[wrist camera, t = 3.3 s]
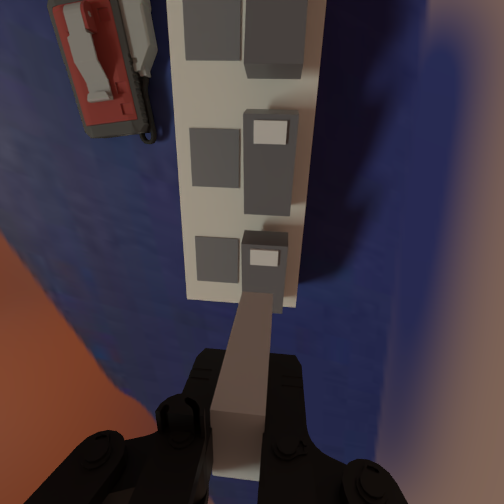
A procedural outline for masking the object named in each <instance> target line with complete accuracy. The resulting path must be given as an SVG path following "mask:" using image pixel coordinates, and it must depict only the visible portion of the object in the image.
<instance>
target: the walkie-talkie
mask: <svg viewBox="0 0 504 504" xmlns="http://www.w3.org/2000/svg"><path fill="white" fill-rule="evenodd" d="M47 8H48V11H49V15H50V18H51V21H52V25H53V28H54V31H55V35H56V38H57V41H58V45H59V48H60V51H61V55H62V58H63V61H64V64H65V66H66V71H67V72H68V77H69V79H70V84H71V85H72V90H73V92H74V97H75V99H76V103H77V105H78V107H77V108H78V109H79V112H80V113H79V114H80V116H81V121H82V122H83V127H84V129H85V133H87V134H88V135H89V136H90V137H91V138H111V137H118V136H126V135H134V134H139V135H140V138H141V140H142V141H143V142H144V143H146V144H153V143H155V141H156V137H157V133H156V128H155V124H154V119H153V114H152V110H151V105H150V100H149V96H148V84H149V79H148V78H151V74H150V71H151V68H152V65H153V62H154V60H155V57H156V54H157V51H158V48H157V43H156V38H155V33H154V27H153V22H152V17H151V4H150V0H48V4H47ZM150 132H151V140H147V138H146V137H145V133H150Z"/></svg>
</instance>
